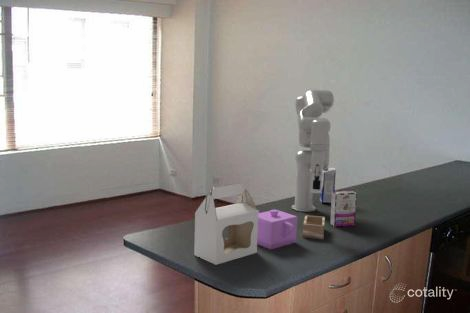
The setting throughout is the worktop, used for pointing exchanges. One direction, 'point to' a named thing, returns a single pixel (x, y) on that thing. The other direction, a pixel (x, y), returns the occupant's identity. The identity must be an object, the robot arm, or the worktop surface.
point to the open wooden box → (313, 227)
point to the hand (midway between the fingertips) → (316, 187)
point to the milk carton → (328, 185)
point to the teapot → (276, 229)
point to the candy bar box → (343, 208)
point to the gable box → (216, 219)
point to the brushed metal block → (320, 184)
